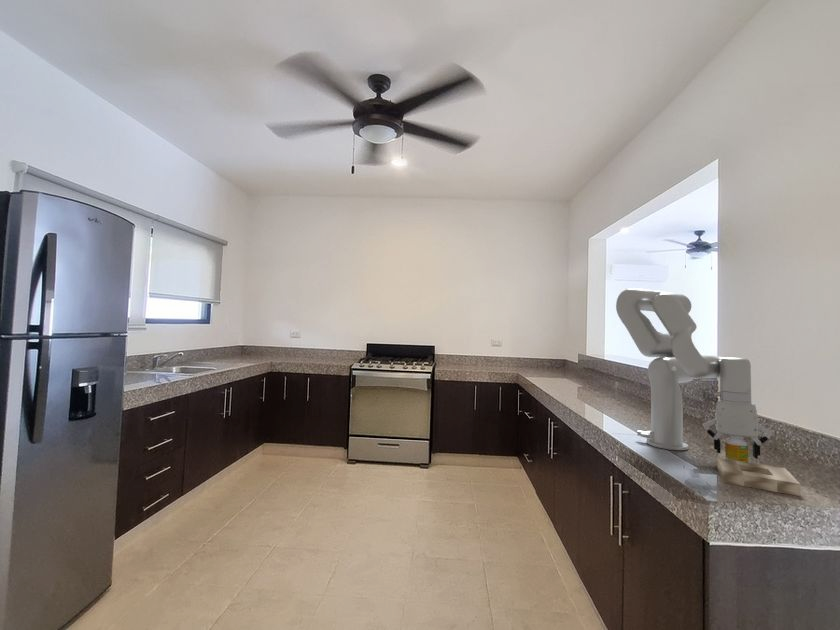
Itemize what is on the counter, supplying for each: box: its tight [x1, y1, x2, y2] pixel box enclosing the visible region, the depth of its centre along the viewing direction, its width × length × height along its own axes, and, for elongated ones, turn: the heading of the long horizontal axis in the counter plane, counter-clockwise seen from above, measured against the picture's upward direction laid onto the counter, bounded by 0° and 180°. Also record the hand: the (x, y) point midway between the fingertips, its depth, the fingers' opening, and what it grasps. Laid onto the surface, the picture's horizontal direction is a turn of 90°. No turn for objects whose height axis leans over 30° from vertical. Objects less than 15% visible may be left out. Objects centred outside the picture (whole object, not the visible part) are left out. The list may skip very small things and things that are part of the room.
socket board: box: [716, 457, 801, 497], centre depth 105 cm, size 15×14×3 cm
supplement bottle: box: [724, 435, 749, 463], centre depth 119 cm, size 5×5×10 cm
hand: (736, 454), depth 119 cm, fingers open, 8 cm apart
